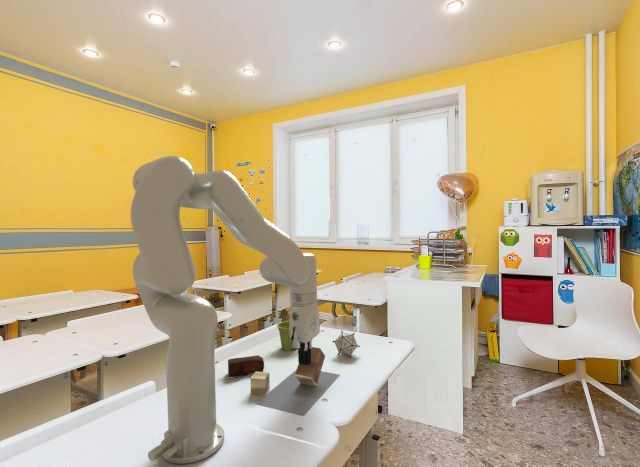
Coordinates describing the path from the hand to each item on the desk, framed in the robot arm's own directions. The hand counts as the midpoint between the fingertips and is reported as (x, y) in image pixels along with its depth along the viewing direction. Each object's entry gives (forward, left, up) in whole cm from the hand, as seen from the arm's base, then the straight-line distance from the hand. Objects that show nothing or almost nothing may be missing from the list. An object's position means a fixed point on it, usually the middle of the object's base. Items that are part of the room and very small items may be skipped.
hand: (304, 363), depth 96 cm
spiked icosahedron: (+28, -2, -8) cm, 29 cm away
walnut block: (0, 0, -5) cm, 5 cm away
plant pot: (+27, +20, -8) cm, 34 cm away
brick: (+2, +22, -8) cm, 23 cm away
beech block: (-6, +11, -8) cm, 14 cm away
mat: (0, +1, -7) cm, 7 cm away
